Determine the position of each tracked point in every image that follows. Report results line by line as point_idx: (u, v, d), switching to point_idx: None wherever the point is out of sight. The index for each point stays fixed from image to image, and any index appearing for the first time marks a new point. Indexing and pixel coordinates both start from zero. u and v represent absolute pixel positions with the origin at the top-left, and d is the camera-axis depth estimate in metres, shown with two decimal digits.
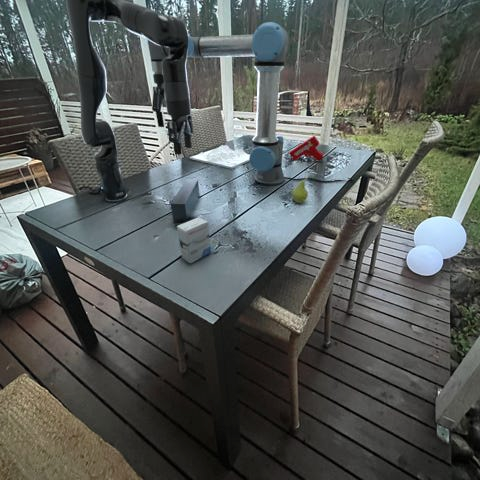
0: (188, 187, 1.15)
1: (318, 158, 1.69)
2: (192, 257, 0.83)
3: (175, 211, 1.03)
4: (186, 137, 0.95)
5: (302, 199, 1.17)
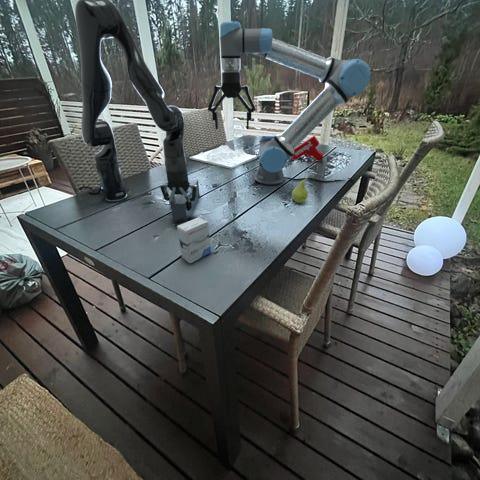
0: None
1: (318, 158, 1.69)
2: (192, 257, 0.83)
3: (175, 211, 1.03)
4: None
5: (302, 199, 1.17)
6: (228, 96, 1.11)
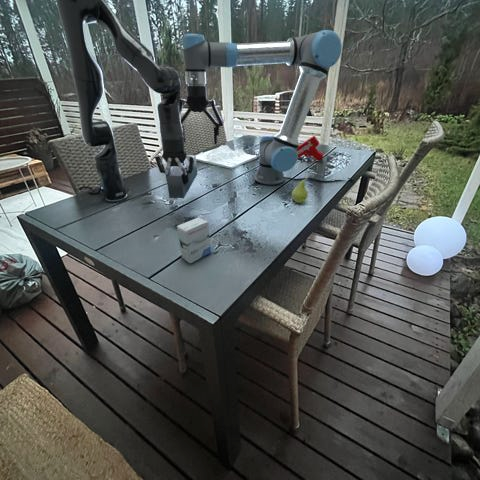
0: (184, 161, 1.09)
1: (318, 158, 1.69)
2: (192, 257, 0.83)
3: (171, 184, 0.97)
4: None
5: (302, 199, 1.17)
6: (194, 110, 1.06)
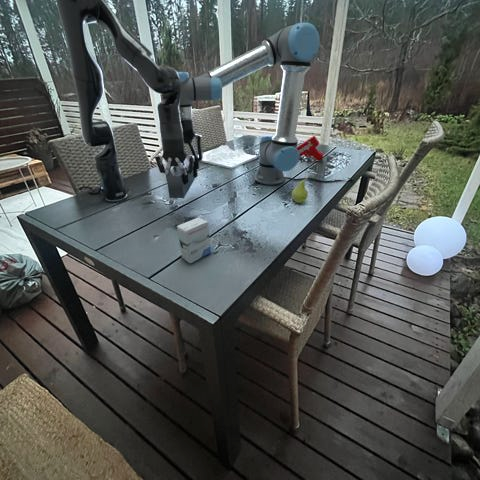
0: (185, 161, 1.09)
1: (318, 158, 1.69)
2: (192, 257, 0.83)
3: (171, 184, 0.97)
4: None
5: (302, 199, 1.17)
6: None
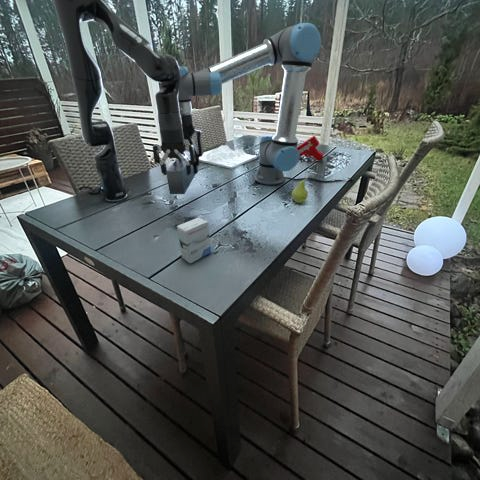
0: None
1: (318, 158, 1.69)
2: (192, 257, 0.83)
3: (171, 180, 0.96)
4: (164, 164, 0.96)
5: (302, 199, 1.17)
6: None
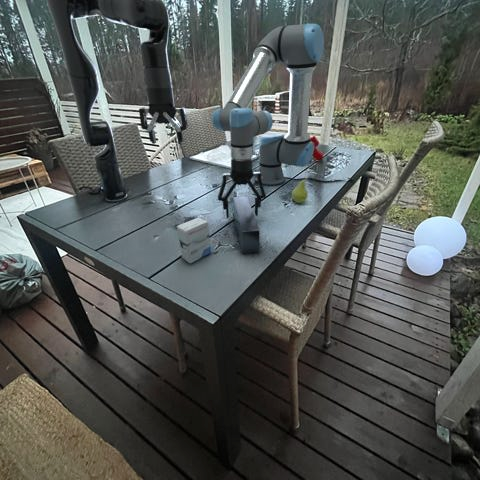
0: (244, 207, 0.98)
1: (318, 158, 1.69)
2: (192, 257, 0.83)
3: (247, 240, 0.86)
4: (152, 131, 0.86)
5: (302, 199, 1.17)
6: (238, 183, 0.97)
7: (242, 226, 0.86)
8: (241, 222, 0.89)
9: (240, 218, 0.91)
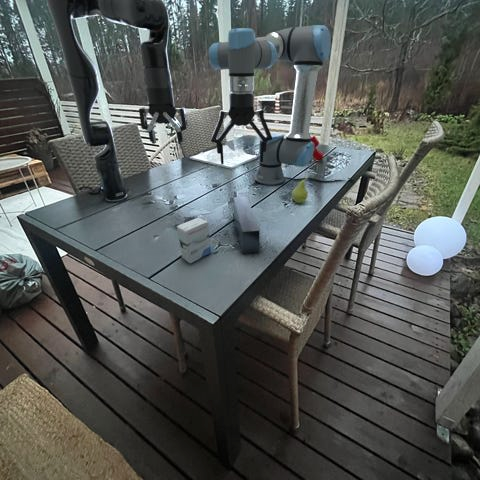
0: (244, 207, 0.98)
1: (318, 158, 1.69)
2: (192, 257, 0.83)
3: (247, 240, 0.86)
4: (152, 131, 0.86)
5: (302, 199, 1.17)
6: (238, 123, 0.86)
7: (242, 226, 0.86)
8: (241, 222, 0.89)
9: (240, 218, 0.91)
